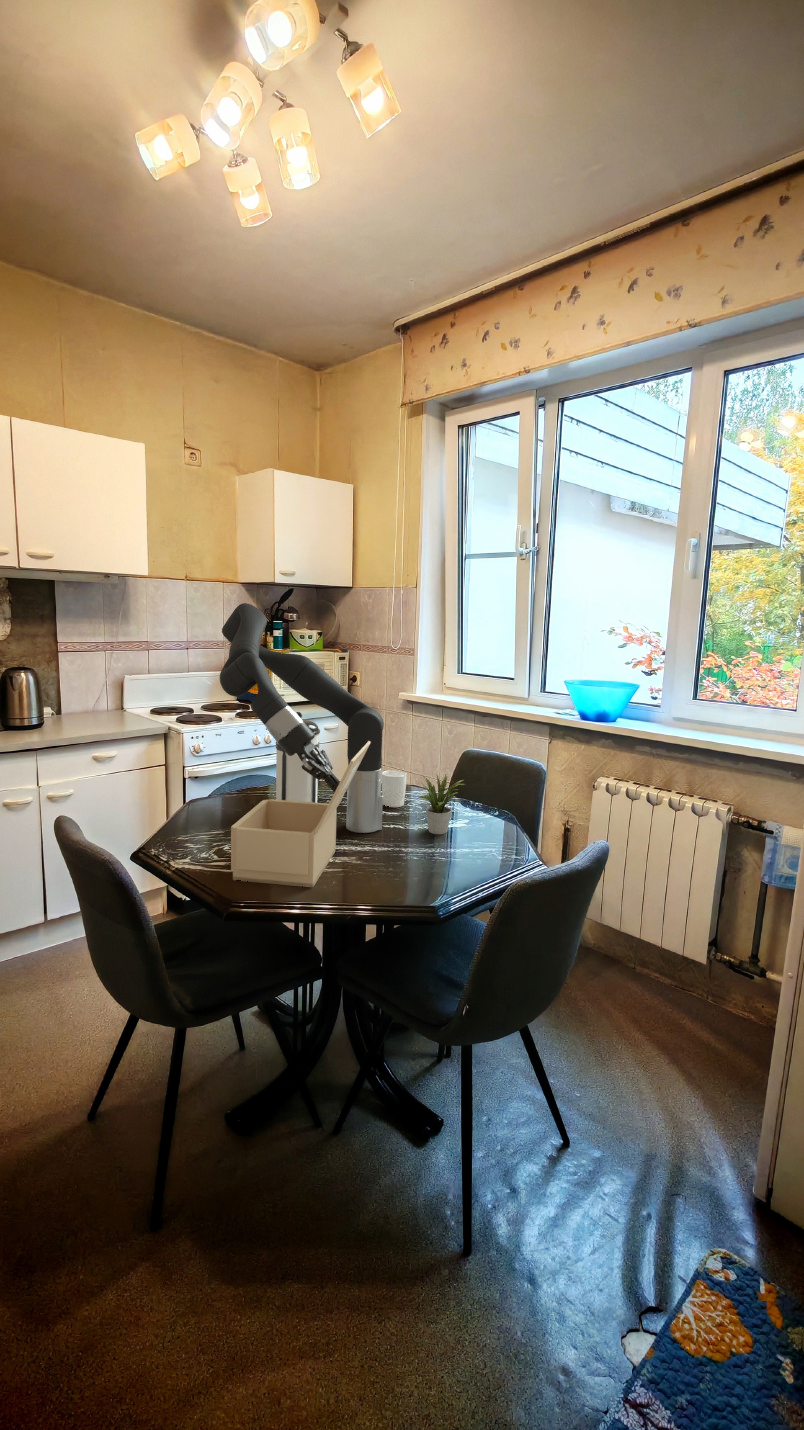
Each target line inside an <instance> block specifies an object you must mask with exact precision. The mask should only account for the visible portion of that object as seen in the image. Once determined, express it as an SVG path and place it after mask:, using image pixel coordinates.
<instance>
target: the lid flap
mask: <svg viewBox="0 0 804 1430" xmlns="http://www.w3.org/2000/svg"><path fill="white" fill-rule="evenodd" d="M370 743H371V742H370V741H368V742H367V743H366V745H365V746H364V747H363V748H362V749H361V750H360V751H359V752H358V753H357V754H356V756H355V757H354V758H353V759H352V760H351V762H350V763H349V765H348V764H347V767H346V770H345V772H344V773H343V775H342V778H341V779H340V780H339V781H340V783H339V785H338V787H337V789H336V791H335V792H333V795H332V797H331V799H330V801H329V803H328V804H329V805H328V807H327V809H326V811H325V813H324V814H323V816H322V818H321V820H320V822H319V824H318V826H317V828H316V830H315V832H314V833H316V834H317V833H318V832H319V830H320V829H321V828H322V826H323V825H324V824H325V822H326V821H327V820H328V818H329V817H330V816H331V815H332V813H333V812H334V811H335V809H336V808H338V807H339V805H340V804H341V801H342V800H343V797H344V795H345V794H346V792H347V788H348V786H349V784H350V782H351V780H352V778H353V776H354V774H355V772H356V770H357V768H358V766H359V764H360V763H361V761H362V759H363V757H364V755H365V753H366V751H367V749H368V747H369V745H370Z"/></svg>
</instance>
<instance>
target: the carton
mask: <svg viewBox="0 0 804 1430" xmlns="http://www.w3.org/2000/svg"><path fill="white" fill-rule="evenodd" d="M328 805H329V803H325V802H324V803H323V802H317V803H314V802H301V801H288V800H276V798H275V799H274V798H273V799H272V798H271V799H262V801H260V802H259V803H257V805H255V806H254V807H253V808H252V809H250V811H248V812H247V813H245V815H243V816H242V817H241V818H240V819H238V820H237V821H236V822H235V823H234V824H232V825H231V827H230V858H231V859H230V861H231V862H230V871H232V880H233V881H236V880H241V881H240V882H247V881H248V883H250V882H251V883H261V884H271V885H283V886H293V887H294V886H295V887H302V886H303V887H304V888H305V887H306V888H314V886H315V885H316V883H317V882H318V881H319V878H320V877H321V875H322V874H323V872H324V870H325V869H326V867H328V865H329V862H330V860H331V859H332V858H333V856H334V855H335V852H336V849H337V848H336V846H337V844H336V843H337V841H336V840H337V808H338V807H337V808H336V809H335V811H334V812H333V813H332V815H331V816H330V817H329V818H328V820H327V821H326V822H325V824H324V825H323V826H322V828H321V829H320V830H319V832H318V833H317V834H316V833H314V832H315V830H316V828H317V826H318V824H319V822H320V820H321V818H322V816H323V814H324V813H325V811H326V809H327V807H328Z"/></svg>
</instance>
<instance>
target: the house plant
mask: <svg viewBox="0 0 804 1430" xmlns="http://www.w3.org/2000/svg"><path fill="white" fill-rule="evenodd" d="M435 775H436V780H437V781H436V783H437V791H436V787H435V785H434V784H432V782H431V781H430V780H429V779H428V778H427V777H426V776H424V775H422V776H423V778H424V781H425V782H426V784H427V786H426V785H425V784H424V783H423V782H420V784H421V785H422V786H423V787H424V788H425V790H427V792H428V794H424V795H421V796H417V798H418V799H425V800H426V801H428V802H429V804H430V806H427V807H426V808H425V811H426V819H427V820H426V821H427V828H428V832H429V833H430V834H432V835H445V834H447V833H448V828H449V825H450V820H451V815H452V809H451V808H450V807H449V806H446V805H447V803H449V802H450V801H451V802H452V801H455V802H460V801H462V800H463V799H461V798H458V799H457V798H456V796H455V794H458V793H459V792H453V791H458V789H455V788H456V787H458V786H459V785H460V786H464V785H465V786H466V784H465V783H461V782H463V781H465V779H461V780H459V781H456V782H454V784H452V785H450V787H447V784H448V783H447V780H448V775H447V773H445V775H444V777H443V779H442V781H440V778H439V776H438V774H437V773H436V774H435ZM445 791H446V792H445ZM452 792H453V793H452ZM437 793H438V794H437Z"/></svg>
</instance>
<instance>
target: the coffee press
mask: <svg viewBox="0 0 804 1430" xmlns="http://www.w3.org/2000/svg"><path fill="white" fill-rule="evenodd" d="M295 712H296V711H295ZM296 713H297V714H298V715H299V716H300V718H301V719H302V718H303V715H302V713H301V712H300V711H297V712H296ZM302 720H303V721H304V722H305V724H306V725H307V726H308V727H309V728H310V730H311V731H312V732H313V733H314V734H315V737H314V738H313V739H312V740H311V743H312V744H314V745H315V746H316V747H318V748H319V749H320V742H319V737H320V734H321V729H320V728H319V726H318V724H317V723H316V722H314V721H313V720H307V719H302ZM275 741H276V740H275ZM275 749H276V757H275V759H276V760H275V761H276V763H275V764H276V766H275V767H276V768H275V769H276V770H275V771H276V773H275V774H276V776H275V780H276V781H275V782H276V785H275V800H288V801H301V802H314V803H318V788H319V787H318V783H319V780H318V779H316V778H315V777H313V776H312V775H310V774H309V773H308V772H306V771H305V770H303V769H302V767H301V766H302V765H303V763H302V762H301V760H300V758H299V757H298V755H297V753H296V754H294V755H293V756H289V755H288V754H287V753H286V752H285V751H284V749H283V748H282V747H281V746H280V745H279V743H278V742H277V741H276V742H275Z"/></svg>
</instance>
